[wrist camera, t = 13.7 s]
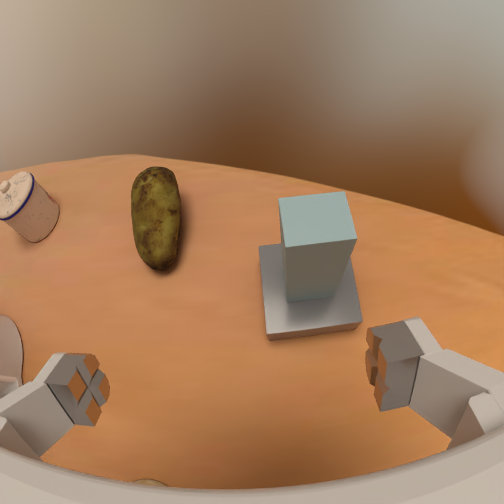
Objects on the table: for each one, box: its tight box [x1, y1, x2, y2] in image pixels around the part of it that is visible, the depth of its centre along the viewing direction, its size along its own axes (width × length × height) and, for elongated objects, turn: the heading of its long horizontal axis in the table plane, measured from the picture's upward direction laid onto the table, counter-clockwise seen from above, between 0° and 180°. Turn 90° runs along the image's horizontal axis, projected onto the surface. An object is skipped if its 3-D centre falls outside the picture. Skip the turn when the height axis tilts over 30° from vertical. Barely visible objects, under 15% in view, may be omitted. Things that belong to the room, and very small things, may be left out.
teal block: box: [278, 191, 357, 302], centre depth 28 cm, size 4×5×13 cm
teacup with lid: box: [0, 172, 59, 242], centre depth 43 cm, size 12×9×12 cm
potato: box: [131, 167, 180, 271], centre depth 40 cm, size 8×13×8 cm, turn 166°
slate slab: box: [259, 244, 363, 341], centre depth 36 cm, size 10×10×4 cm
